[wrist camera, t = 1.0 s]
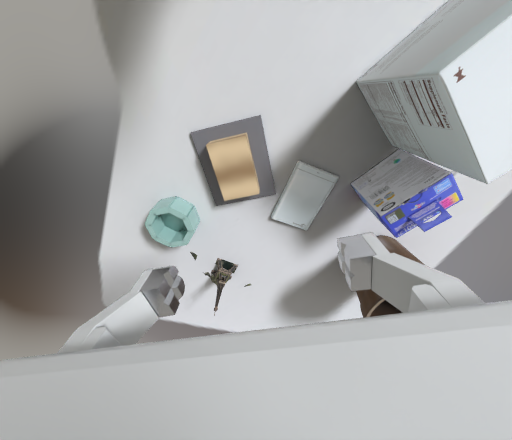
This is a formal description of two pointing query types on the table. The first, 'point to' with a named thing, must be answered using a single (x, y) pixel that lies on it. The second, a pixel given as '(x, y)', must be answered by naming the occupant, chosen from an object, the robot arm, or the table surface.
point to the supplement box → (450, 89)
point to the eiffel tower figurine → (220, 275)
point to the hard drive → (303, 195)
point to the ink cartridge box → (407, 192)
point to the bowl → (172, 221)
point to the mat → (257, 149)
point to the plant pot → (371, 300)
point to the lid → (234, 166)
